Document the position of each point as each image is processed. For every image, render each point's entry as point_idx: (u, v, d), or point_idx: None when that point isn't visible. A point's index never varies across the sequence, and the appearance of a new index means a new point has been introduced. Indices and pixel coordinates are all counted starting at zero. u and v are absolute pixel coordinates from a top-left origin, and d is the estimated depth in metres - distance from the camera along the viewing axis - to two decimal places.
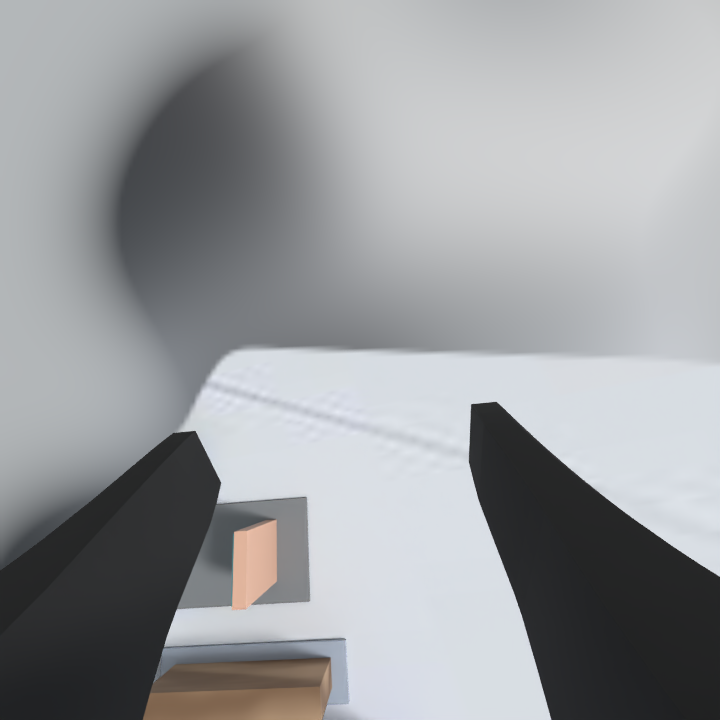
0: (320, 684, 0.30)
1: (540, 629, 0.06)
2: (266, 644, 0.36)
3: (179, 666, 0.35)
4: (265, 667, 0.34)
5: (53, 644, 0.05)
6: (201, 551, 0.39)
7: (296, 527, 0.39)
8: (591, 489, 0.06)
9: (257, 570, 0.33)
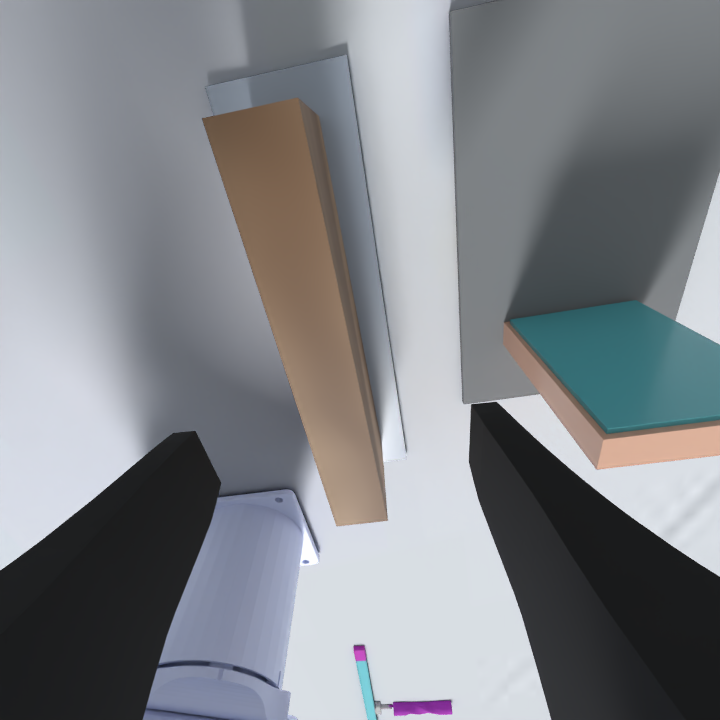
0: (386, 512, 0.17)
1: (540, 629, 0.06)
2: (388, 341, 0.17)
3: (322, 140, 0.13)
4: (365, 369, 0.16)
5: (53, 644, 0.05)
6: (602, 127, 0.13)
7: None
8: (591, 489, 0.06)
9: None
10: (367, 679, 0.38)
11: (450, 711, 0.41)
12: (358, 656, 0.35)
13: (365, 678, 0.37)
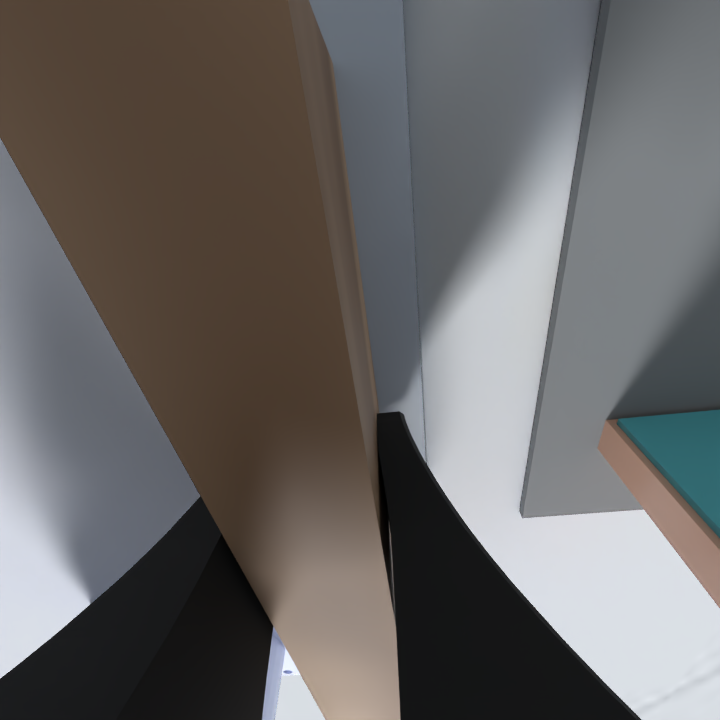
0: None
1: None
2: (423, 438, 0.11)
3: (338, 111, 0.06)
4: None
5: (205, 636, 0.05)
6: None
7: None
8: (442, 501, 0.06)
9: None
10: None
11: None
12: None
13: None
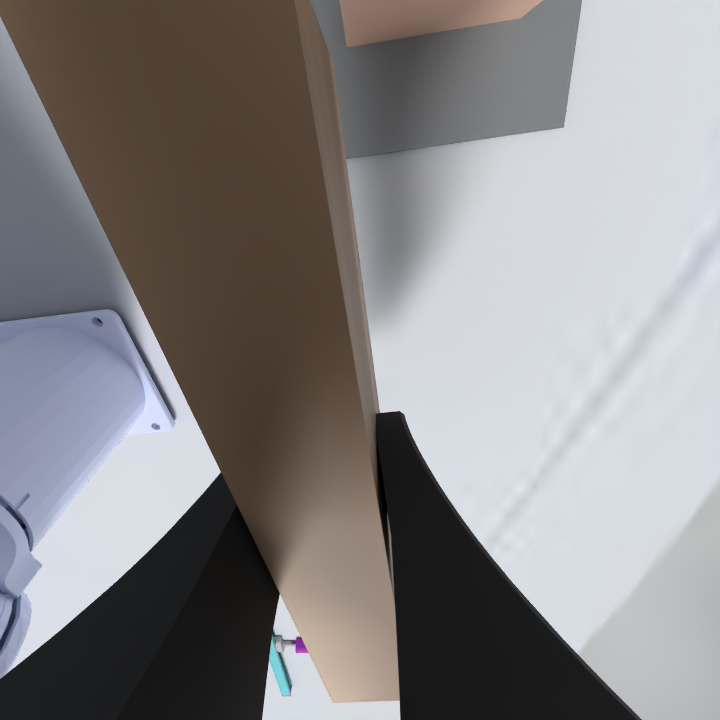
0: None
1: None
2: None
3: (337, 105, 0.07)
4: None
5: (205, 636, 0.05)
6: None
7: (487, 102, 0.13)
8: (442, 501, 0.06)
9: None
10: None
11: None
12: None
13: None
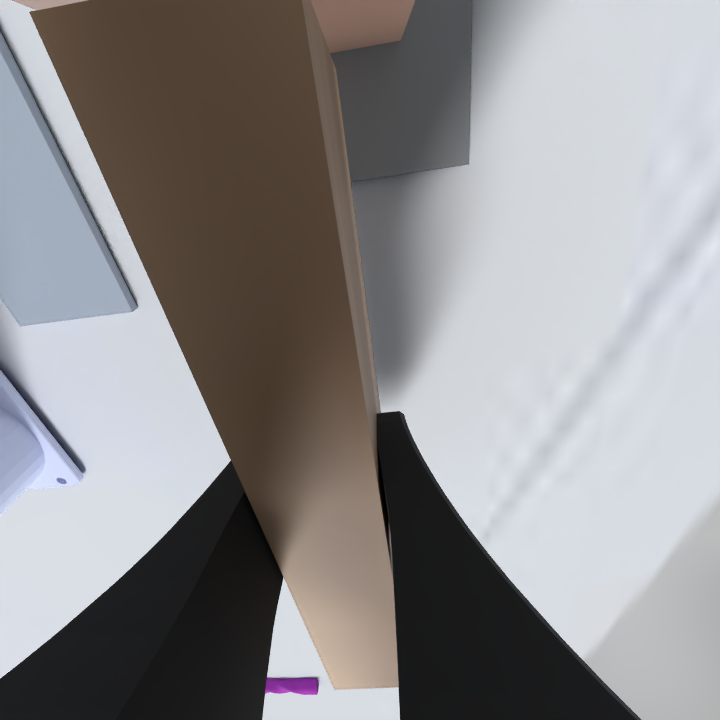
0: None
1: None
2: (6, 61, 0.10)
3: (340, 112, 0.07)
4: None
5: (205, 636, 0.05)
6: None
7: (375, 136, 0.11)
8: (442, 501, 0.06)
9: None
10: None
11: (314, 691, 0.35)
12: None
13: None
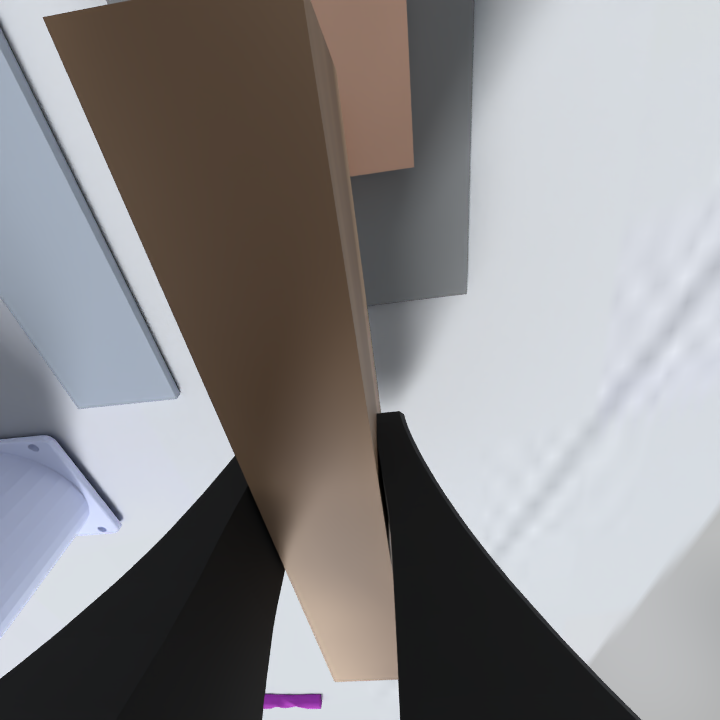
0: None
1: None
2: (88, 221, 0.13)
3: (340, 112, 0.07)
4: None
5: (205, 636, 0.05)
6: None
7: (389, 274, 0.14)
8: (442, 501, 0.06)
9: None
10: None
11: (318, 705, 0.38)
12: None
13: None
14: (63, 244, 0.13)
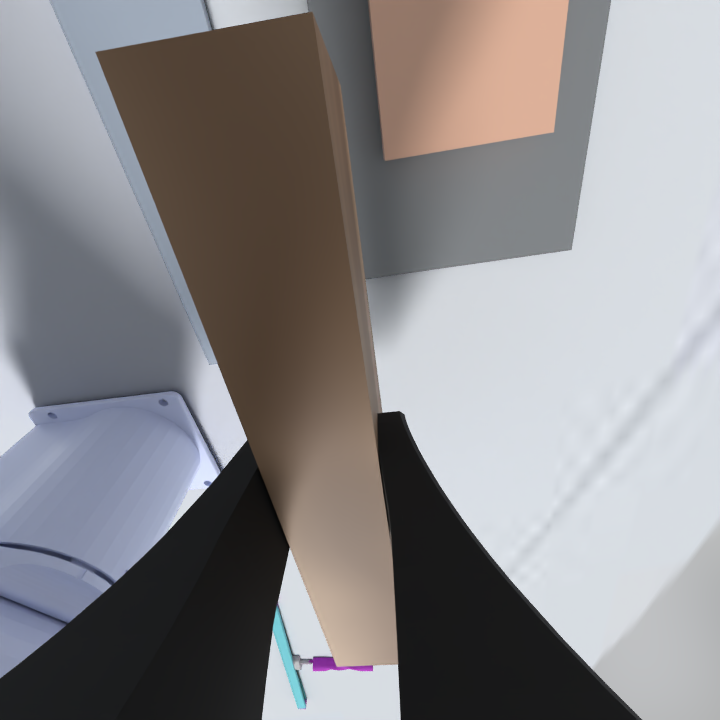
0: None
1: None
2: None
3: (344, 124, 0.08)
4: None
5: (204, 636, 0.05)
6: None
7: (506, 233, 0.16)
8: (442, 500, 0.06)
9: None
10: (280, 629, 0.36)
11: (371, 667, 0.40)
12: None
13: (278, 627, 0.36)
14: None
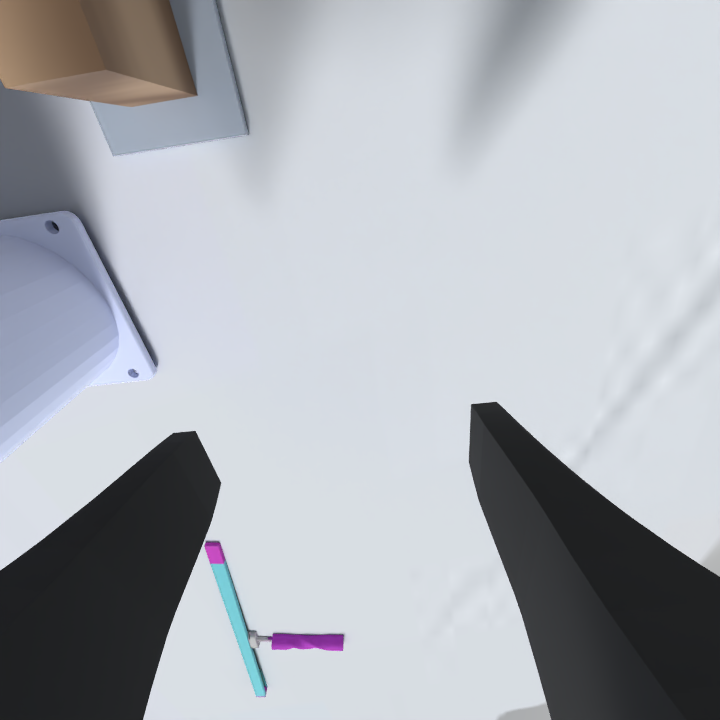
0: (114, 70, 0.08)
1: (540, 629, 0.06)
2: None
3: None
4: None
5: (53, 644, 0.05)
6: None
7: None
8: (591, 489, 0.06)
9: None
10: (230, 593, 0.29)
11: (340, 646, 0.34)
12: (212, 556, 0.27)
13: (228, 592, 0.29)
14: None
